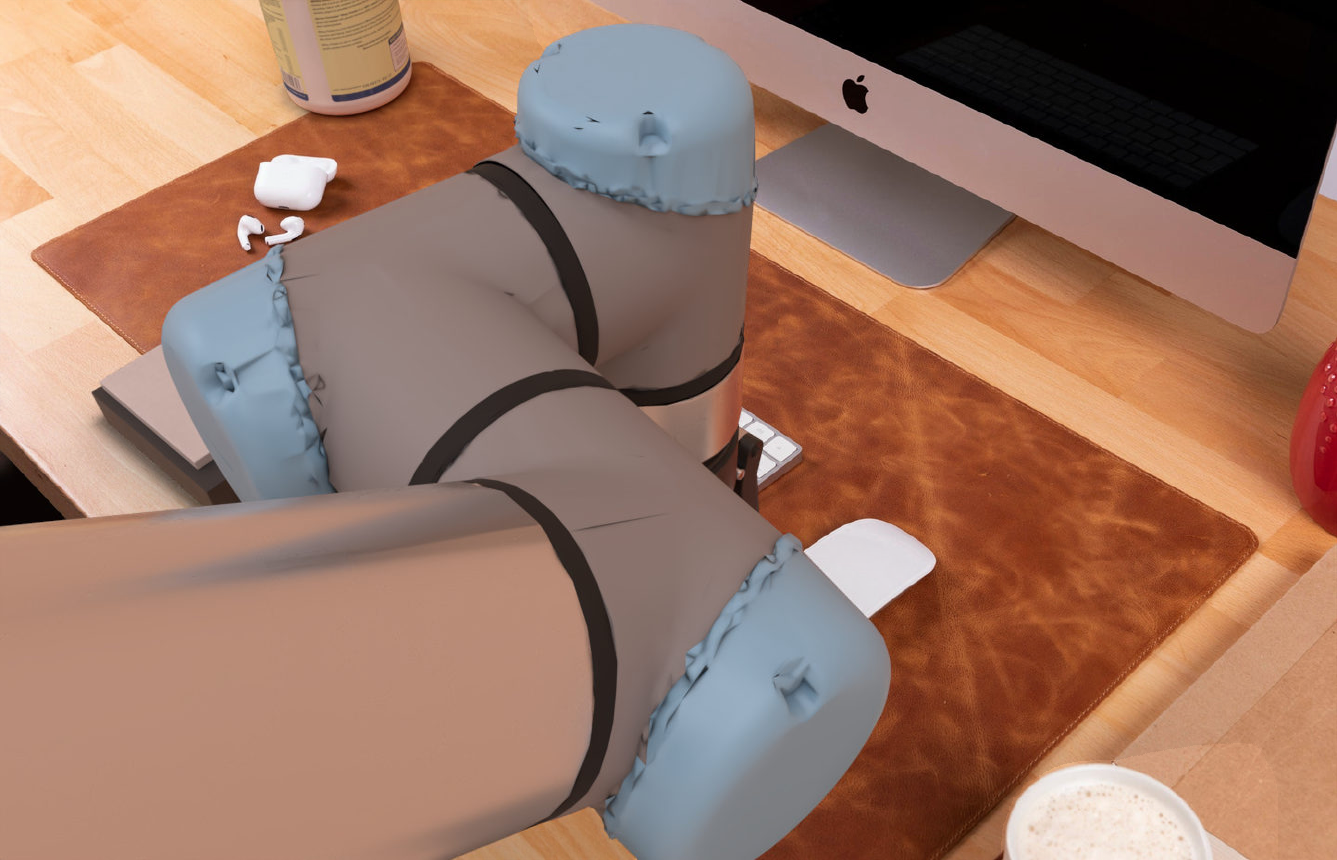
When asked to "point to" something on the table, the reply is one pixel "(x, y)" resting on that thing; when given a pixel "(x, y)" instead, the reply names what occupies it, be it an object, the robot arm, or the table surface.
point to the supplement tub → (339, 52)
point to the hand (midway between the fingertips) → (653, 707)
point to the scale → (162, 426)
